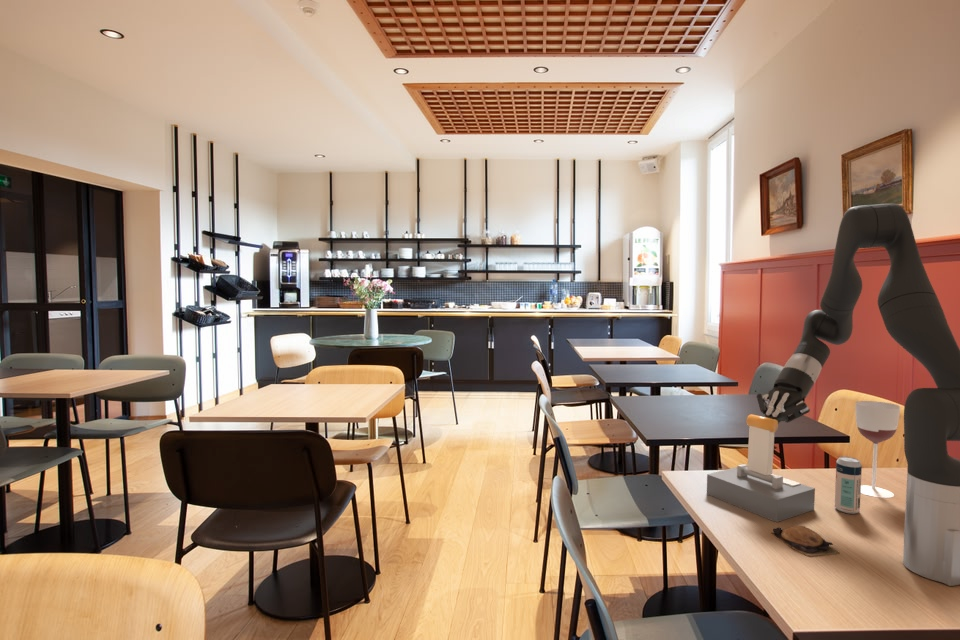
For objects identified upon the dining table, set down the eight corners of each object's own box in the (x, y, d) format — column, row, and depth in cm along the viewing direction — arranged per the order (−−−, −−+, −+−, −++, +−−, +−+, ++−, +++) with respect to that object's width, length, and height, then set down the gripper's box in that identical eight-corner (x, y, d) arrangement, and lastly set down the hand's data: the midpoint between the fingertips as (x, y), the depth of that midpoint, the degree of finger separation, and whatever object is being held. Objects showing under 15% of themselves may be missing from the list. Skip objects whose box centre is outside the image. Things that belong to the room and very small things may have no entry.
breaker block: (743, 484, 138) (744, 455, 138) (814, 509, 123) (815, 477, 122) (706, 494, 132) (707, 464, 131) (776, 522, 116) (777, 488, 115)
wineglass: (843, 488, 136) (847, 403, 134) (866, 482, 140) (869, 399, 138) (881, 500, 128) (885, 410, 126) (904, 494, 132) (908, 406, 130)
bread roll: (843, 557, 102) (845, 538, 102) (805, 560, 101) (806, 541, 101) (801, 531, 113) (802, 514, 112) (766, 534, 111) (766, 517, 111)
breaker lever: (749, 473, 131) (752, 413, 130) (777, 482, 124) (780, 419, 124) (741, 474, 129) (744, 414, 128) (769, 484, 123) (772, 420, 122)
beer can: (851, 506, 124) (853, 456, 123) (864, 515, 119) (866, 463, 119) (830, 505, 125) (832, 455, 124) (841, 514, 120) (843, 462, 119)
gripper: (766, 362, 136) (733, 416, 132) (819, 370, 125) (785, 428, 120) (779, 381, 139) (747, 434, 134) (832, 390, 127) (799, 448, 123)
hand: (765, 431), depth 127 cm, fingers closed
